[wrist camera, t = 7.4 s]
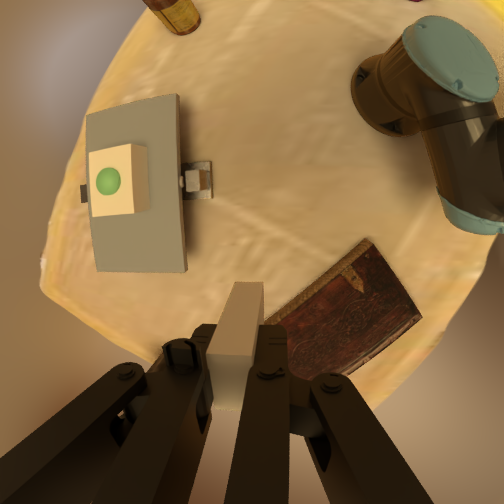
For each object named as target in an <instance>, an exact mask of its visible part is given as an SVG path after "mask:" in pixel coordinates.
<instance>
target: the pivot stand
mask: <svg viewBox="0 0 504 504" xmlns="http://www.w3.org/2000/svg"><path fill="white" fill-rule="evenodd" d="M181 176H183V177H184V187H182V200H194V199H211V198H213V184H212V162H210V161H207V162H195V163H185V164H181ZM80 190H81V203H85V202H88V196H87V184H85V185H80Z"/></svg>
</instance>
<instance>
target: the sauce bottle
mask: <svg viewBox="0 0 504 504" xmlns="http://www.w3.org/2000/svg"><path fill="white" fill-rule="evenodd" d="M143 2H144V3H145V4H146V5H147V6H148V7H149V9H150V10H151V11H152V12H153V13H154V14H155V15H156V16H157V17H158V18H159V19H160V20H161V21H162V23H163V24H164V25H165V26H166V27H167V28H168V29H169V30H170V31H171V32H173V33H175V34H178V35H185V34H188V33H190V32H192V31H194V30H195V29H196V28H197V27H198V26H199V24H200V16H199V13H198V11H197V9H196V8H195V6H194V4H193V3H192V1H191V0H143Z"/></svg>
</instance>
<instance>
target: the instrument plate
mask: <svg viewBox="0 0 504 504" xmlns="http://www.w3.org/2000/svg"><path fill="white" fill-rule="evenodd" d="M86 180H87V196H88V209H89V219H90V228H91V236H92V243H93V250H94V257H95V263H96V269H97V272H138V273H185V272H186V271H187V270H188V265H187V255H186V244H185V232H184V219H183V204H182V187H184V177H183V176H181V164H180V121H179V95H178V94H176V93H175V94H169V95H164V96H159V97H154V98H149V99H144V100H140V101H136V102H132V103H127V104H123V105H120V106H116V107H112V108H109V109H105V110H102V111H98V112H95V113H92V114H89V115H86Z"/></svg>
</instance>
